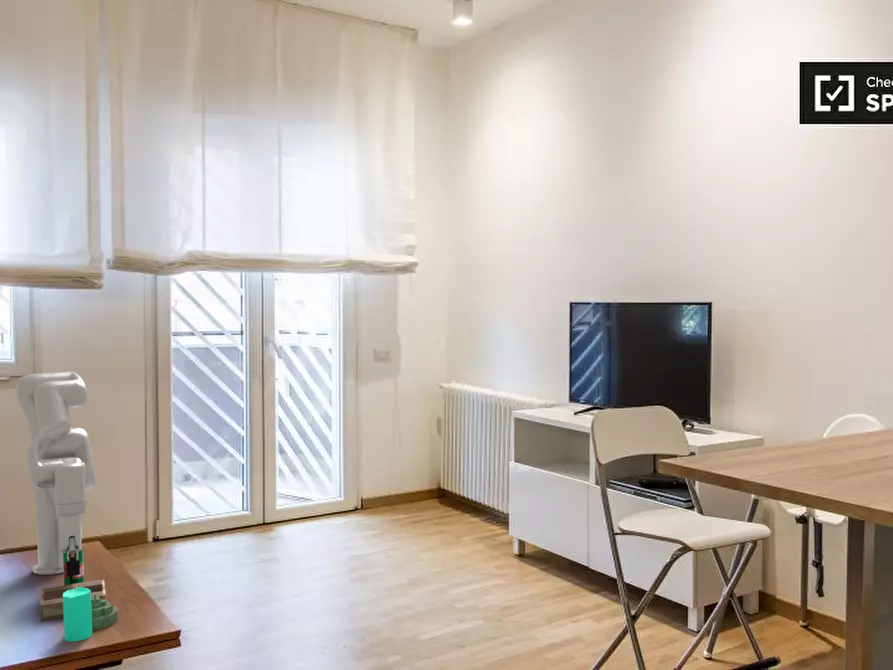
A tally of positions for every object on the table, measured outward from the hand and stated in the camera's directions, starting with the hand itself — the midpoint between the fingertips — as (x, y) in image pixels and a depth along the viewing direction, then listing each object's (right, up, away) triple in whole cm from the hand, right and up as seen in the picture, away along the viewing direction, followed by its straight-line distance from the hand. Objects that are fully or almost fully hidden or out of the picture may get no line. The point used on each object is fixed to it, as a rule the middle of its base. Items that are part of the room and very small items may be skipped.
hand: (73, 570), depth 223 cm
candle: (+16, -6, -33) cm, 37 cm away
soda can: (0, -6, 0) cm, 6 cm away
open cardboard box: (+6, -6, -13) cm, 16 cm away
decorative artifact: (+17, -6, -24) cm, 30 cm away
